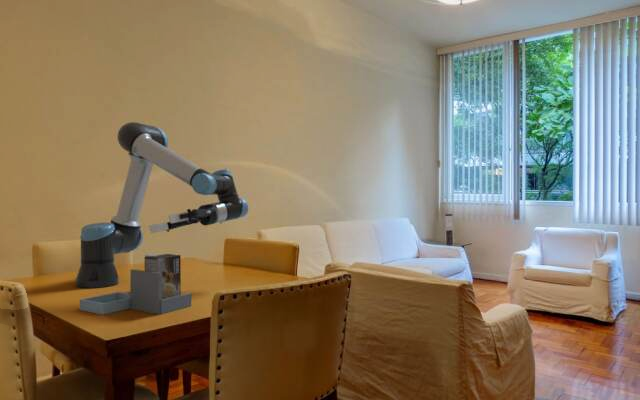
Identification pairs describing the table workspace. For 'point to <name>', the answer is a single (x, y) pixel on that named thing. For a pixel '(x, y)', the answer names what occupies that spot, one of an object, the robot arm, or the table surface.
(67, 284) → the table surface
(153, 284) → the bracket
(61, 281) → the table surface
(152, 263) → the coffee box
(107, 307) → the tray
